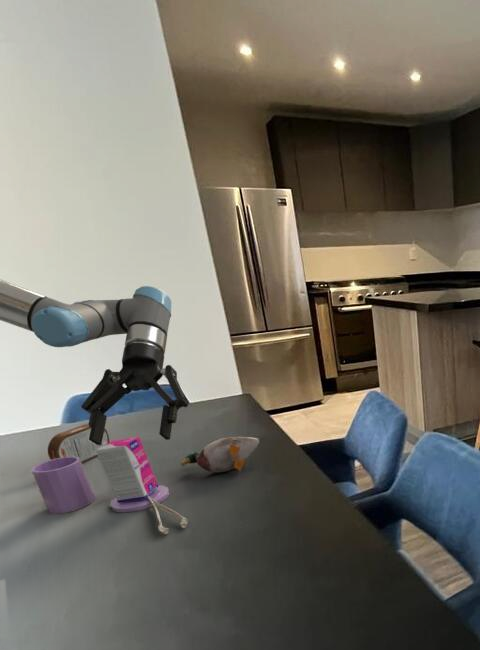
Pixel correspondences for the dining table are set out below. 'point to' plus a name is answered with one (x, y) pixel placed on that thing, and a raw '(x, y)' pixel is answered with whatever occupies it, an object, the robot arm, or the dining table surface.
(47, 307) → the robot arm
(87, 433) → the tin
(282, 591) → the dining table surface
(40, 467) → the lilac cup
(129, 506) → the saucer
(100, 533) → the dining table surface
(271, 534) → the dining table surface
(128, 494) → the supplement box
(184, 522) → the beige thin v-shaped piece
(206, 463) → the decorative duck model
